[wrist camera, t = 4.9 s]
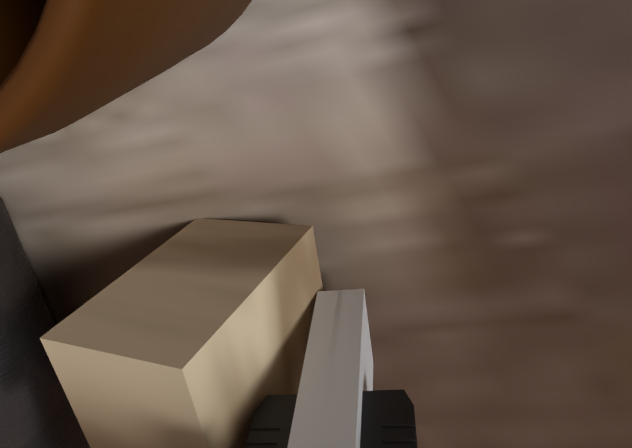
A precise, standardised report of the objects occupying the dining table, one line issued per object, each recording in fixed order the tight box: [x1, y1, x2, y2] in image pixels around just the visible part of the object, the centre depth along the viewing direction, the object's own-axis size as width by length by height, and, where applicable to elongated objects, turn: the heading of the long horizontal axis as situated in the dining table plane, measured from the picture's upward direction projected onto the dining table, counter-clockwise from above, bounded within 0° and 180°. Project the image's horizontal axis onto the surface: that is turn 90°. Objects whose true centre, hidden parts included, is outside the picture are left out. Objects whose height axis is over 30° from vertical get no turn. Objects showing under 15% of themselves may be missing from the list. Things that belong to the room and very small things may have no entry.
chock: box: [40, 219, 324, 448], centre depth 15 cm, size 6×4×6 cm, turn 9°
